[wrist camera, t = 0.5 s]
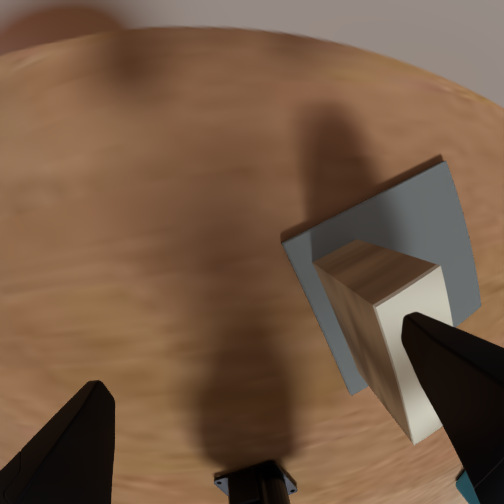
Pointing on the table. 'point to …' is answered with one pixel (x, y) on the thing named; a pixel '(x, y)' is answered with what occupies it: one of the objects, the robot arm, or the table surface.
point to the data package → (467, 489)
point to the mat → (395, 238)
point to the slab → (385, 322)
